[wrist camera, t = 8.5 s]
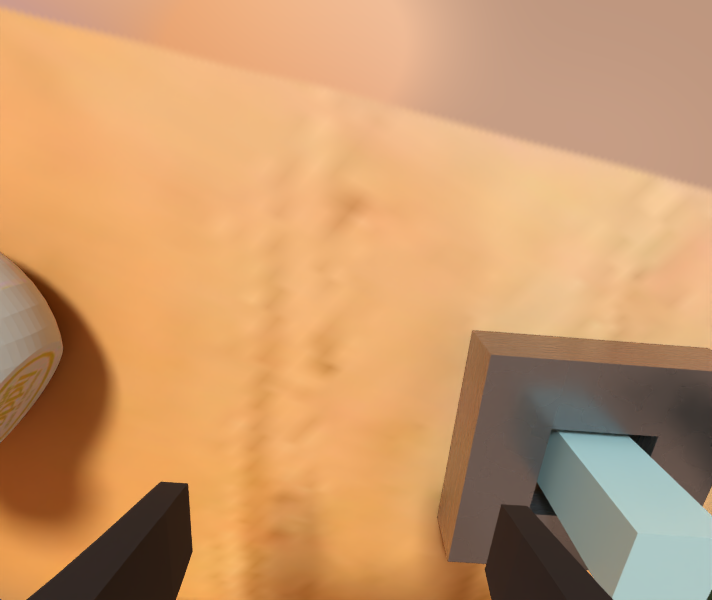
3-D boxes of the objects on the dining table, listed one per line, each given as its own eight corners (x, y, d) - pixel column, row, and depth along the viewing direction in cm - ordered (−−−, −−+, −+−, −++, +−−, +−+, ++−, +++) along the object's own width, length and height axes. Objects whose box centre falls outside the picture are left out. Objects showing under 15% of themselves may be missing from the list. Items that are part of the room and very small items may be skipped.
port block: (437, 517, 21) (447, 561, 18) (472, 330, 18) (490, 354, 15) (635, 530, 21) (670, 575, 19) (707, 348, 18) (762, 375, 15)
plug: (524, 460, 20) (609, 604, 13) (538, 406, 19) (637, 532, 12) (585, 464, 20) (701, 610, 13) (602, 411, 19) (736, 539, 12)
